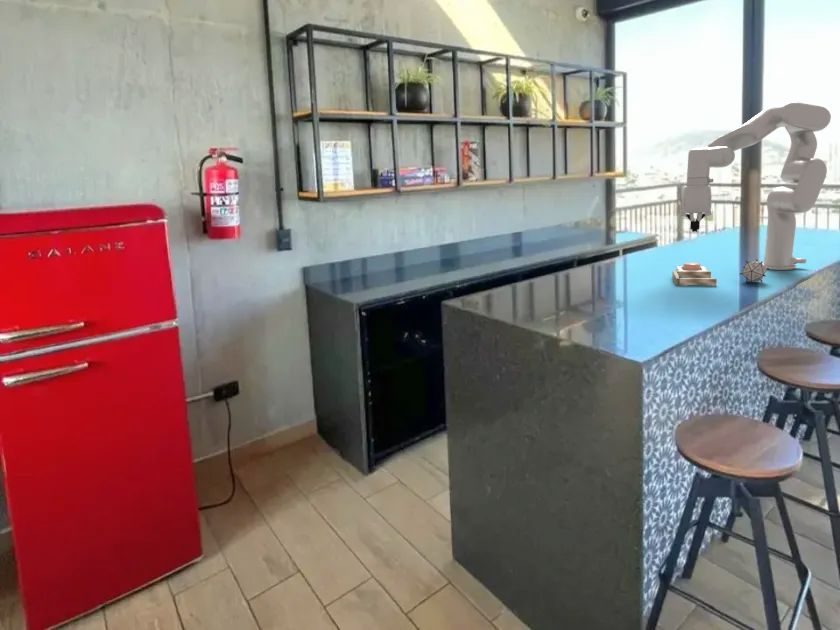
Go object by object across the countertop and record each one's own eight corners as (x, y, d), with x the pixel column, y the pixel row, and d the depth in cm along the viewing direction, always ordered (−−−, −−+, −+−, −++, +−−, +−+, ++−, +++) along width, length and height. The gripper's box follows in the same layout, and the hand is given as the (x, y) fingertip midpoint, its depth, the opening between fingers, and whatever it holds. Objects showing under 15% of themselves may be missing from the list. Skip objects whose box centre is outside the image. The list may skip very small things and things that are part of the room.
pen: (710, 277, 220) (710, 271, 219) (716, 285, 206) (716, 279, 205) (672, 277, 224) (672, 270, 224) (675, 285, 210) (676, 278, 209)
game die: (758, 293, 208) (775, 273, 201) (734, 284, 209) (751, 265, 202) (756, 276, 214) (773, 257, 206) (734, 269, 215) (750, 249, 207)
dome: (698, 270, 228) (699, 262, 227) (700, 273, 223) (701, 265, 222) (682, 270, 230) (682, 262, 229) (683, 273, 225) (684, 265, 224)
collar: (703, 272, 230) (704, 266, 229) (707, 277, 221) (707, 270, 220) (676, 272, 233) (676, 266, 232) (678, 277, 224) (678, 270, 223)
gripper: (718, 181, 219) (714, 230, 223) (675, 182, 224) (672, 230, 228) (721, 182, 212) (717, 232, 217) (676, 183, 217) (674, 233, 221)
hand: (694, 231), depth 222 cm, fingers closed
